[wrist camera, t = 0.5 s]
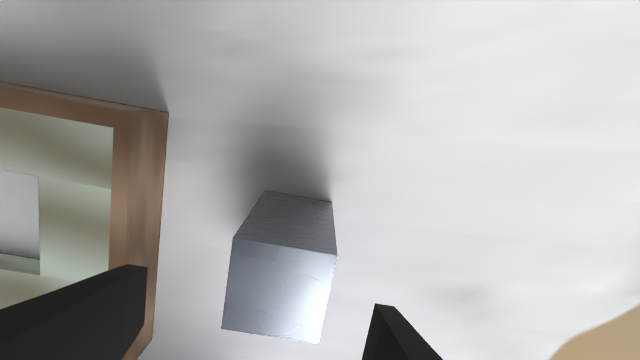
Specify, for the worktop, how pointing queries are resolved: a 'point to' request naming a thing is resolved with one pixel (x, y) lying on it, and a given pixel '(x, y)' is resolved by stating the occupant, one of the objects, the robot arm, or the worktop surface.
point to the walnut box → (84, 190)
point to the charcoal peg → (282, 268)
